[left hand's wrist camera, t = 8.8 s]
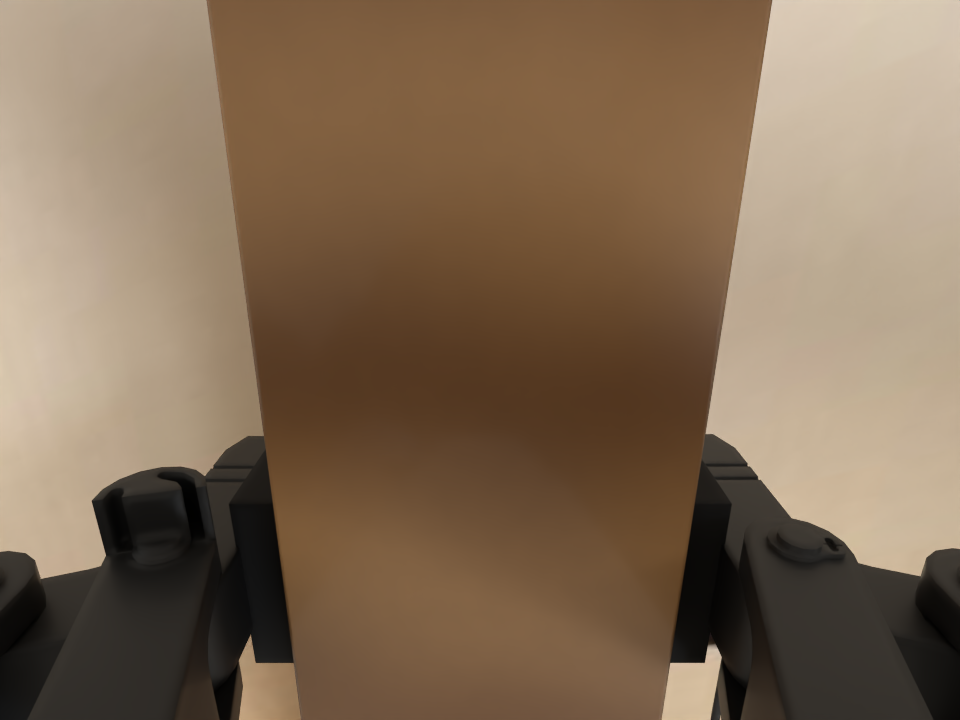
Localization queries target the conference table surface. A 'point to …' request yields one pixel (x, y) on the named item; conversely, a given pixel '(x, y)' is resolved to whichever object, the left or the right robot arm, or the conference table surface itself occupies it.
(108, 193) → the conference table surface
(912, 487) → the conference table surface
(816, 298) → the conference table surface
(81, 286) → the conference table surface
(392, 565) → the beam
